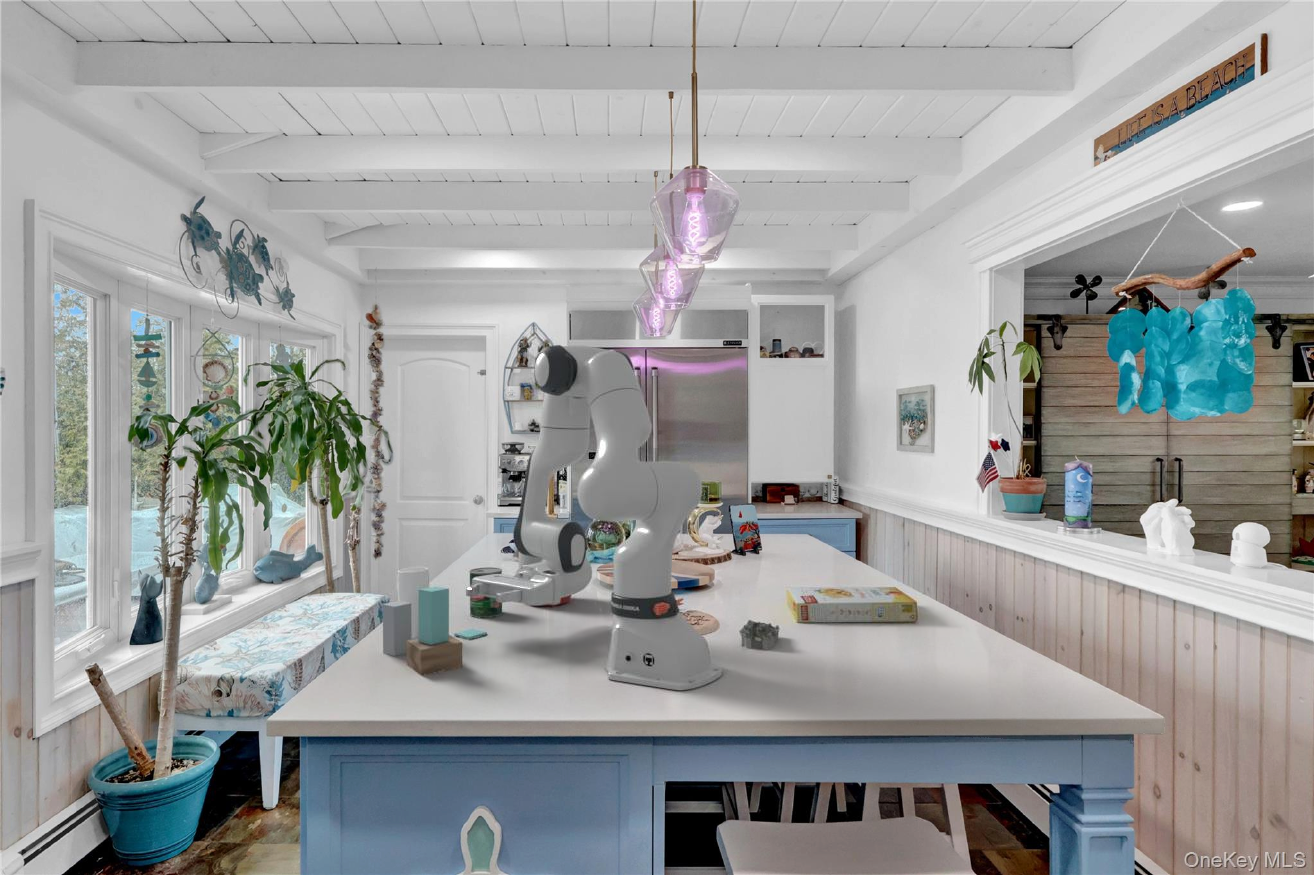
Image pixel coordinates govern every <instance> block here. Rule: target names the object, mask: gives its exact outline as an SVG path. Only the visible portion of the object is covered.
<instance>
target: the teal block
mask: <svg viewBox="0 0 1314 875" xmlns="http://www.w3.org/2000/svg"><path fill="white" fill-rule="evenodd" d="M449 630H450V588H446V587H441V586H431V587H430V586H429V588H424V589H419V610H418V642H421V643H425V644H430V645H433V644H437V643H441V642H445V641H449V635H450V631H449Z"/></svg>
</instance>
